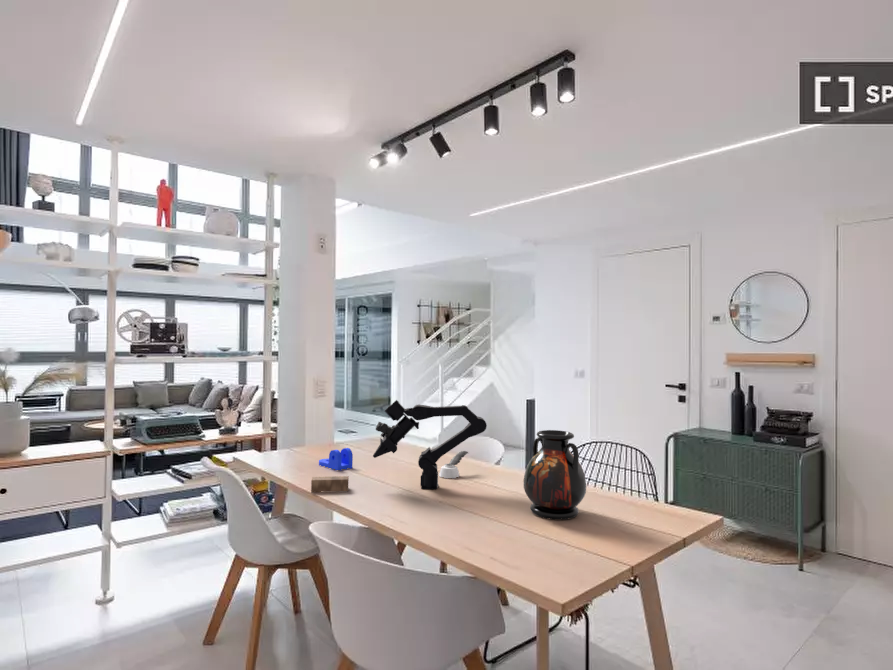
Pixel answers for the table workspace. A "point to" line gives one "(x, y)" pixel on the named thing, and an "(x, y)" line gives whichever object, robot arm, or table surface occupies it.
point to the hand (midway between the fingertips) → (373, 456)
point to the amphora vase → (554, 476)
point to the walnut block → (329, 483)
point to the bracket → (338, 459)
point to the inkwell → (452, 466)
